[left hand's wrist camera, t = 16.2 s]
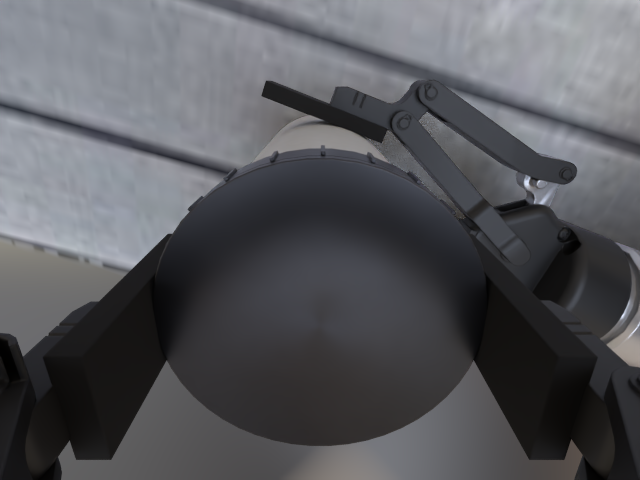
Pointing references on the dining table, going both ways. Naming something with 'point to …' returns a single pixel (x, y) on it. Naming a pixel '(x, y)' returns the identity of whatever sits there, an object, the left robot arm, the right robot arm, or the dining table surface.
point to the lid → (320, 298)
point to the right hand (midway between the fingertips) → (242, 169)
